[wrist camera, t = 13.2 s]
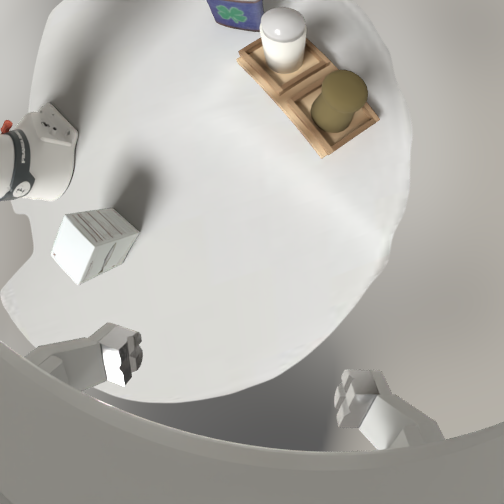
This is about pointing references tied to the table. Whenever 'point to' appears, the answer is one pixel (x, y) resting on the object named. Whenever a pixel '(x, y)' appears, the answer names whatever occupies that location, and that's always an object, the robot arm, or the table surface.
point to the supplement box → (92, 243)
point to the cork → (338, 101)
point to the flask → (238, 13)
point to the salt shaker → (283, 39)
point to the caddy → (303, 94)
